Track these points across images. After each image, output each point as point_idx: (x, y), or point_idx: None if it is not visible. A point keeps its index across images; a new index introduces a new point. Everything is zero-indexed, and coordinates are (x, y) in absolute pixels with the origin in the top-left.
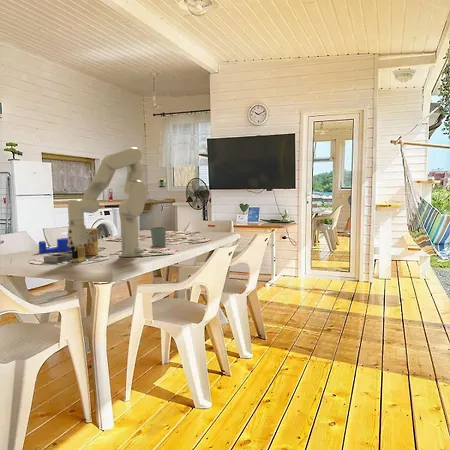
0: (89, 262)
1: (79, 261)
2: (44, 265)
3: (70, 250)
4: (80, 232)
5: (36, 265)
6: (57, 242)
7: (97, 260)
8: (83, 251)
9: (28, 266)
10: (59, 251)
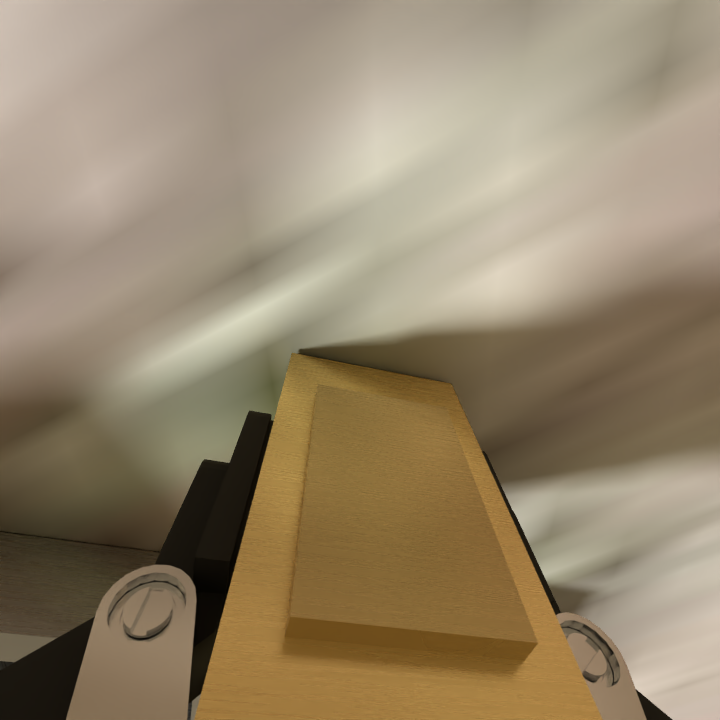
0: (527, 124)
1: (440, 383)
2: (659, 633)
3: None
4: None
5: (634, 684)
6: None
7: (228, 41)
8: (338, 484)
9: (674, 707)
10: None
